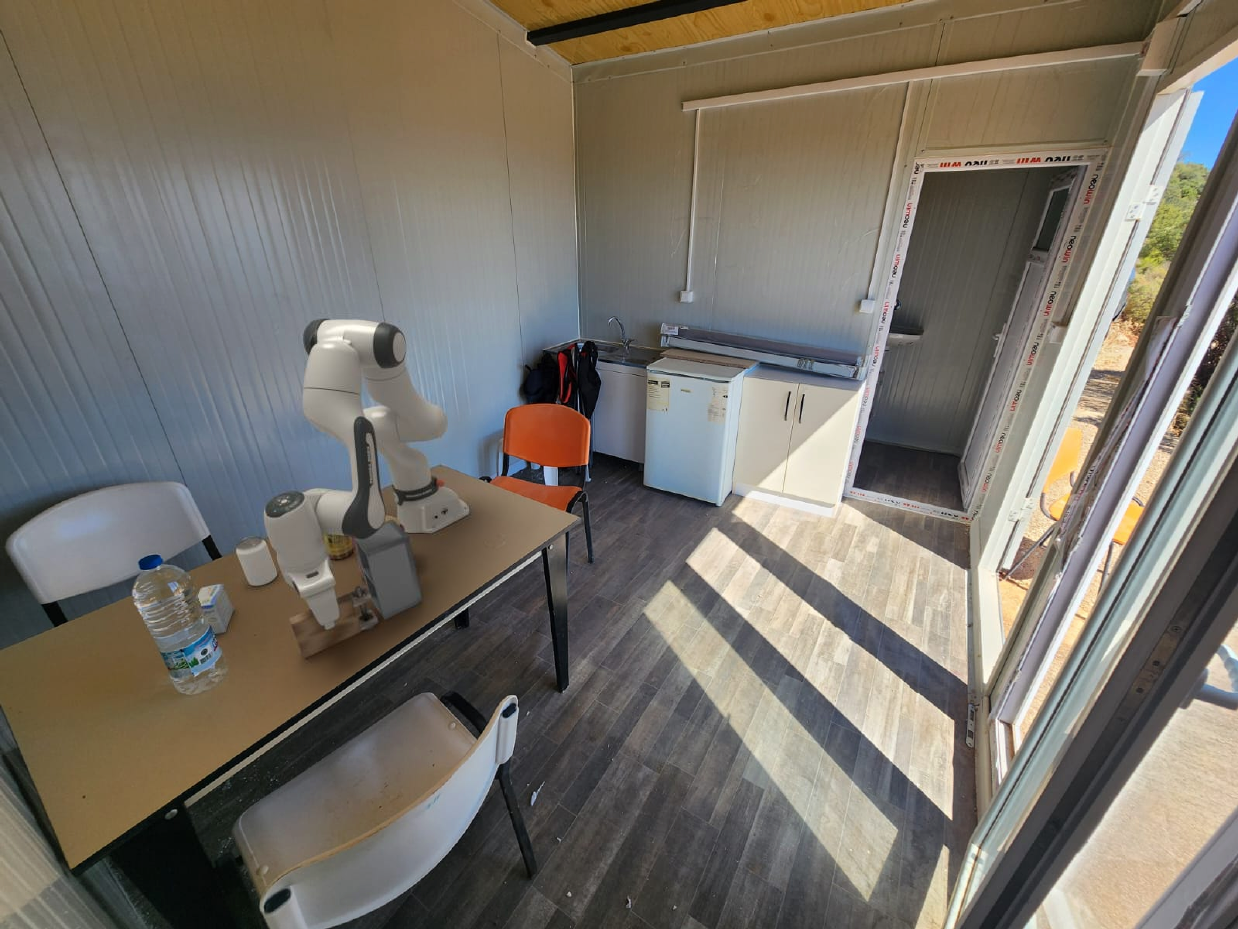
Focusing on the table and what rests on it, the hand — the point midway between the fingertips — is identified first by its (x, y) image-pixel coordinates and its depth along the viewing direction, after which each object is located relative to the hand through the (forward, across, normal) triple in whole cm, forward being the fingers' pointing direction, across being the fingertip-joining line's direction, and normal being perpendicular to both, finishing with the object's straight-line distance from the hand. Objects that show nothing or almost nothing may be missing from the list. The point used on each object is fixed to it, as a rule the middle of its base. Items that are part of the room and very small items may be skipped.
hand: (323, 614), depth 110 cm
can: (+8, -36, -7) cm, 37 cm away
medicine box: (+8, -24, -18) cm, 31 cm away
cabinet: (+8, -4, +16) cm, 18 cm away
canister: (+8, -18, +19) cm, 27 cm away
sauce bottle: (+8, -34, +12) cm, 37 cm away
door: (+8, 0, +2) cm, 8 cm away
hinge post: (+8, 0, +8) cm, 11 cm away
